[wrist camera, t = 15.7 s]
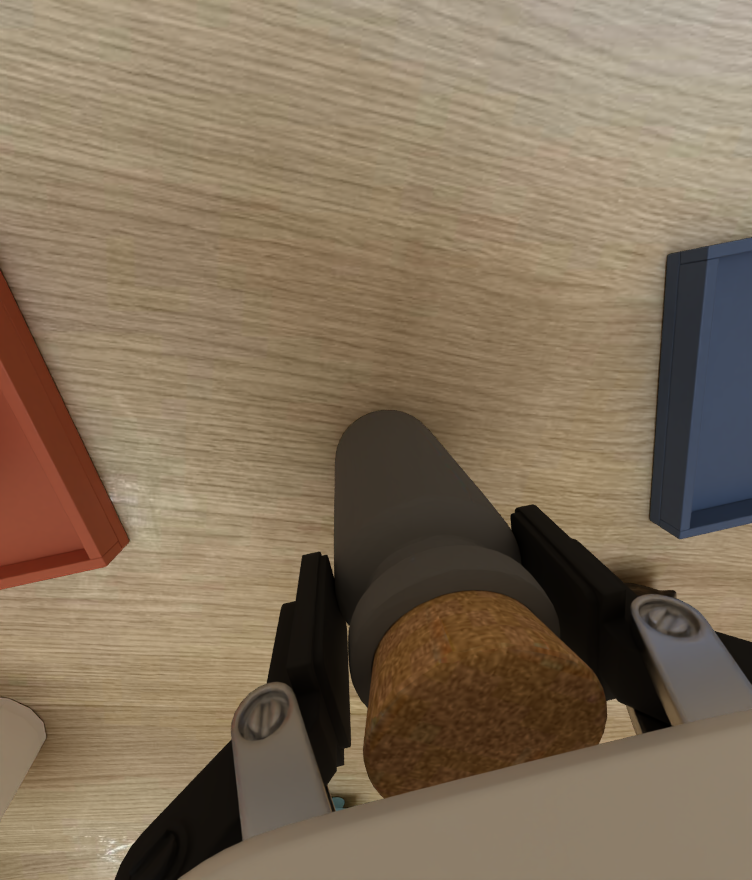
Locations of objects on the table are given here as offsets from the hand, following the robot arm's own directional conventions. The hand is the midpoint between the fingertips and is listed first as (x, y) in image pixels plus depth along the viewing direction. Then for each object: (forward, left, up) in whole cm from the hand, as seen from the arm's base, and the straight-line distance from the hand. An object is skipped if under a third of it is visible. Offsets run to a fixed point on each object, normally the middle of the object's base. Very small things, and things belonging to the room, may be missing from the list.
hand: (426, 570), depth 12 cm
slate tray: (0, +23, -10) cm, 25 cm away
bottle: (0, 0, -10) cm, 10 cm away
